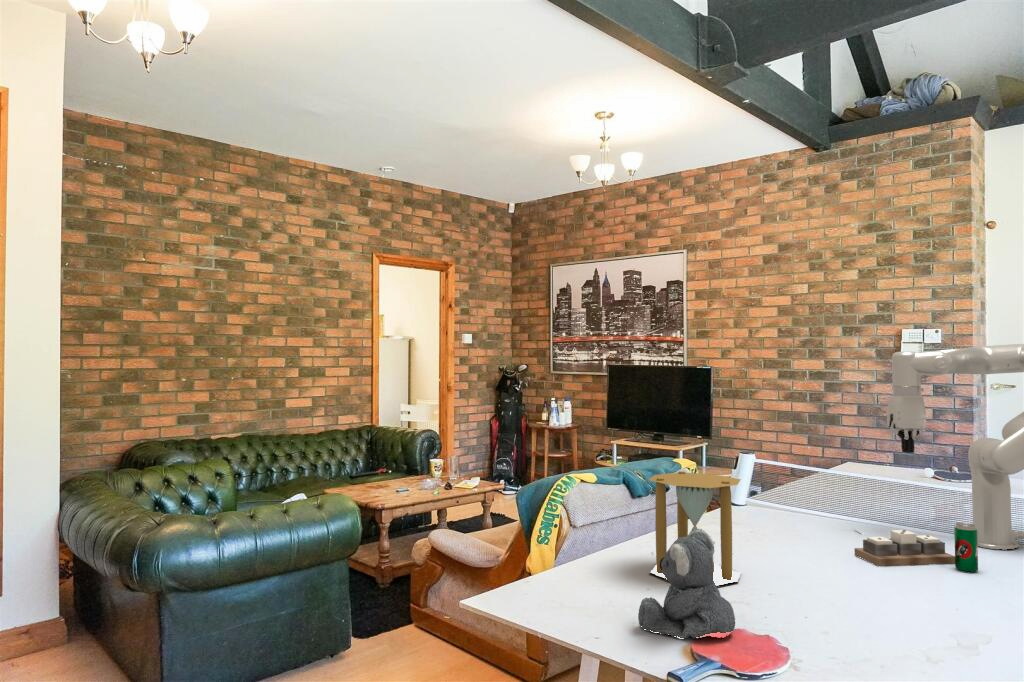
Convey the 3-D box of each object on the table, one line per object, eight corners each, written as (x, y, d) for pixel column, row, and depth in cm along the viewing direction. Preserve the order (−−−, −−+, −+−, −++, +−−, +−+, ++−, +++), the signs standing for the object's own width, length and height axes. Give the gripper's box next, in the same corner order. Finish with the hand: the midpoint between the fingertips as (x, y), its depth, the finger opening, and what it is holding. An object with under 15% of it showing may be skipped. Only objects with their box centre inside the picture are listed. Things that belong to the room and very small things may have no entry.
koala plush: (671, 607, 156) (670, 519, 156) (750, 626, 144) (749, 531, 145) (632, 630, 142) (631, 534, 143) (716, 653, 131) (715, 549, 132)
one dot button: (882, 549, 194) (882, 536, 194) (892, 553, 190) (892, 540, 190) (867, 549, 193) (867, 536, 194) (877, 554, 189) (877, 540, 189)
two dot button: (929, 547, 195) (928, 534, 195) (940, 552, 191) (940, 538, 191) (914, 548, 195) (914, 535, 195) (925, 552, 191) (925, 539, 191)
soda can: (981, 573, 179) (980, 527, 179) (960, 572, 180) (959, 526, 180) (973, 568, 184) (972, 522, 184) (951, 567, 185) (950, 521, 185)
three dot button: (905, 542, 195) (905, 529, 195) (916, 546, 190) (916, 533, 190) (891, 543, 194) (890, 529, 194) (901, 547, 190) (901, 533, 190)
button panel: (927, 552, 199) (926, 535, 199) (955, 563, 188) (955, 545, 188) (854, 555, 196) (854, 537, 197) (879, 566, 186) (878, 547, 186)
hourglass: (632, 574, 180) (631, 477, 180) (676, 556, 196) (675, 467, 197) (717, 595, 164) (716, 488, 164) (757, 573, 180) (756, 476, 181)
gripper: (920, 391, 216) (922, 450, 216) (875, 391, 215) (877, 451, 214) (938, 392, 209) (939, 453, 208) (891, 392, 207) (892, 454, 207)
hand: (907, 452), depth 211 cm, fingers closed
